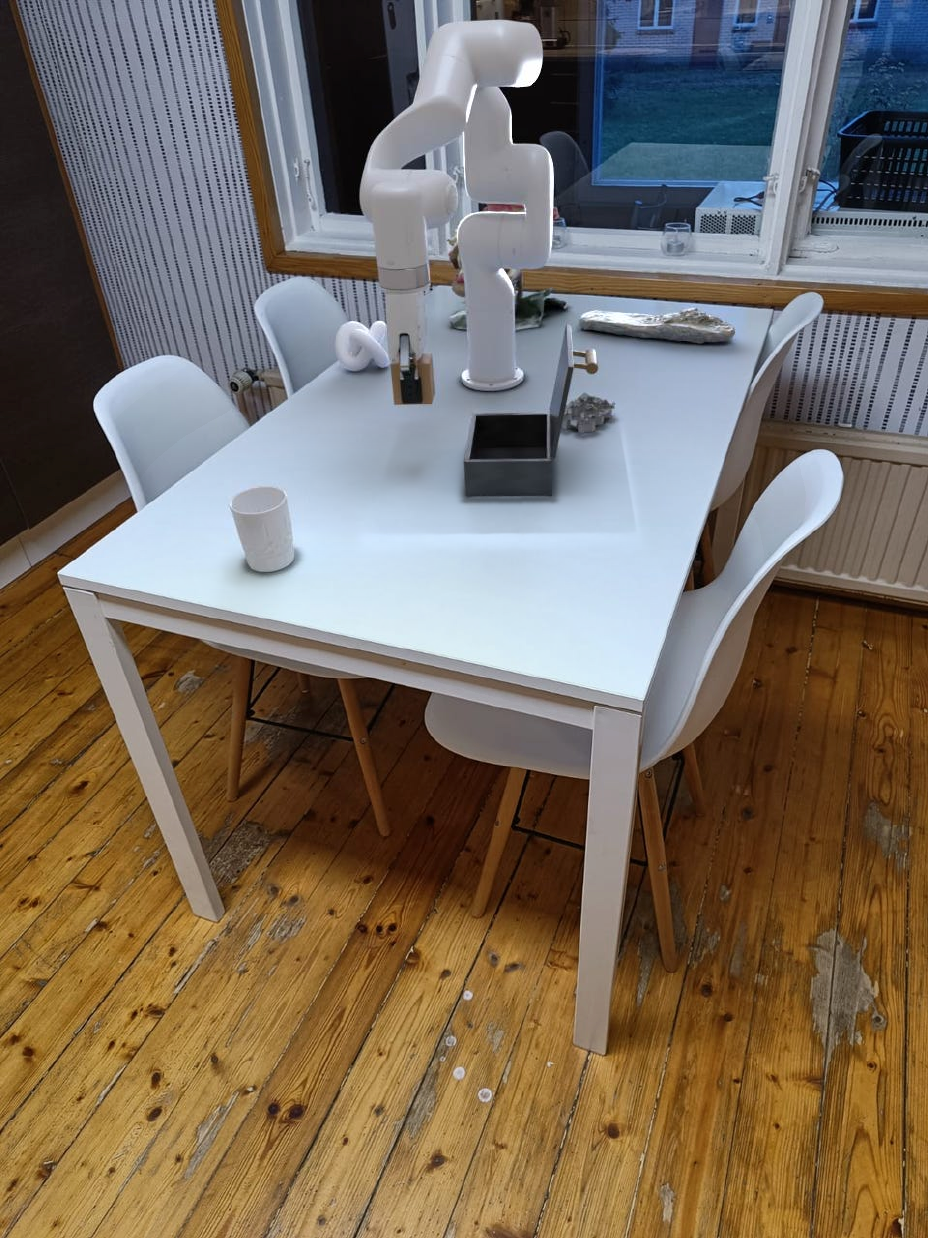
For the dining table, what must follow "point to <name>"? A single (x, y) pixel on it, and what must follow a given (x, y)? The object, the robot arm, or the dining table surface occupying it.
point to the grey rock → (586, 413)
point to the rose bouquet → (525, 306)
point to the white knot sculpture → (361, 345)
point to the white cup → (264, 527)
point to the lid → (566, 384)
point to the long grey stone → (661, 325)
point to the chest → (508, 455)
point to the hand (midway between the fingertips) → (414, 394)
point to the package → (424, 372)
